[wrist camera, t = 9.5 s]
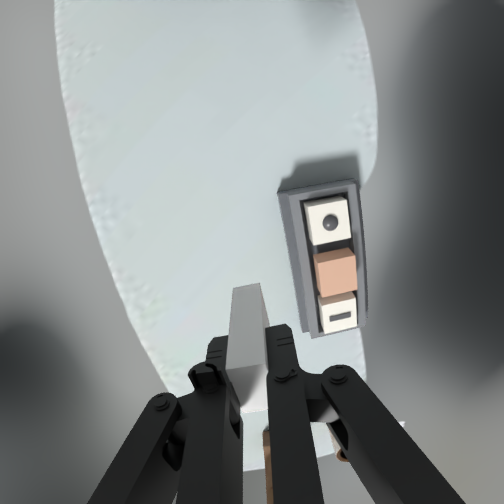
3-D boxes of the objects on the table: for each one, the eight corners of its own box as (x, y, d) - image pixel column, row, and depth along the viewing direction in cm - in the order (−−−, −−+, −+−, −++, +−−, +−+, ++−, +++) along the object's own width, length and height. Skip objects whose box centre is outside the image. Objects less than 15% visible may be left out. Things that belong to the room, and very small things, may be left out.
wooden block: (262, 430, 59) (265, 499, 42) (282, 428, 59) (289, 496, 42) (265, 450, 62) (268, 512, 45) (283, 448, 62) (289, 510, 45)
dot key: (303, 202, 39) (307, 207, 36) (339, 195, 38) (347, 200, 35) (309, 237, 41) (314, 245, 38) (344, 230, 40) (351, 238, 37)
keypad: (276, 192, 41) (279, 197, 37) (353, 178, 40) (363, 182, 36) (300, 325, 48) (304, 340, 45) (364, 311, 48) (372, 324, 44)
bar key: (317, 295, 44) (322, 306, 41) (349, 288, 43) (356, 298, 40) (320, 322, 45) (325, 334, 42) (351, 315, 45) (357, 327, 42)
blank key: (312, 254, 40) (317, 263, 37) (348, 247, 40) (355, 255, 37) (317, 287, 42) (321, 297, 39) (351, 279, 42) (357, 289, 39)
